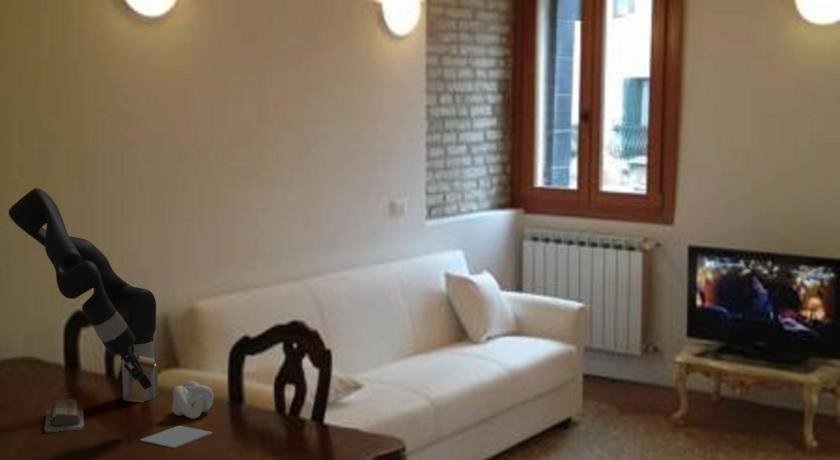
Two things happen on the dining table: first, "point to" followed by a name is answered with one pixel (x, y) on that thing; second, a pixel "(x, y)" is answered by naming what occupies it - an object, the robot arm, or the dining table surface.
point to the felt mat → (176, 436)
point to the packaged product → (64, 416)
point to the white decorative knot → (191, 399)
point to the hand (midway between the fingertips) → (147, 383)
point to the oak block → (136, 388)
